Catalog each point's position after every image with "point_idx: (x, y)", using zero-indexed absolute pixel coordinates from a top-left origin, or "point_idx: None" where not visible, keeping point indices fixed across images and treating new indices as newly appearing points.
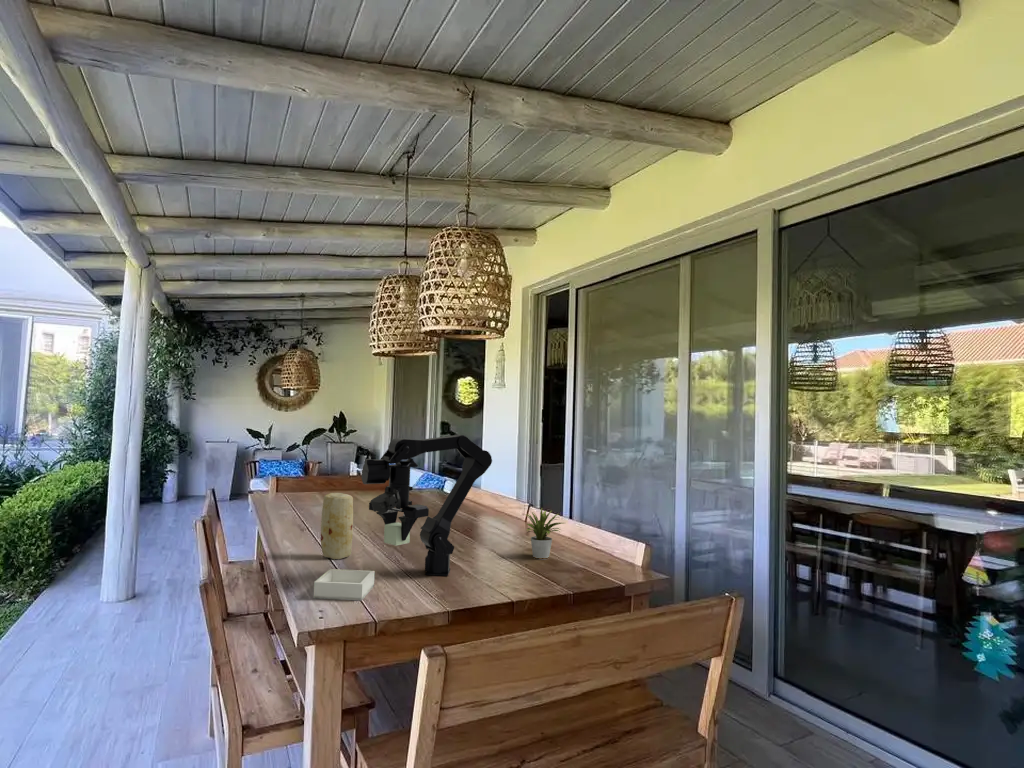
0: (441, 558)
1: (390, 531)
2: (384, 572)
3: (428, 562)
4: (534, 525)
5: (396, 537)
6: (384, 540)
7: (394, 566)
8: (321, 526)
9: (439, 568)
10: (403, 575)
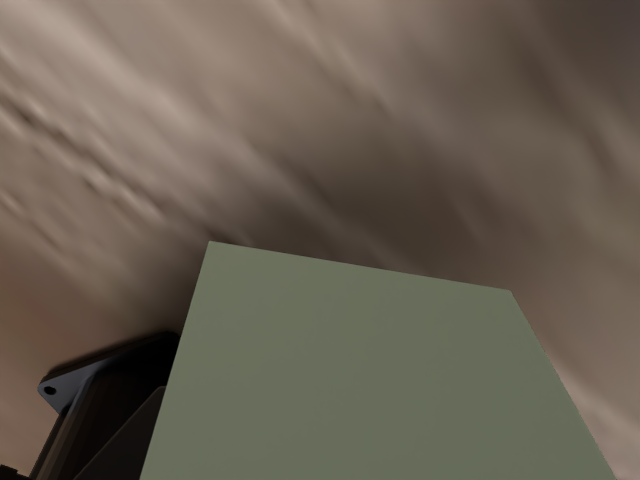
0: (41, 471)
1: (399, 444)
2: (478, 247)
3: None
4: None
5: (185, 334)
6: (509, 310)
7: None
8: None
9: (79, 402)
10: None
